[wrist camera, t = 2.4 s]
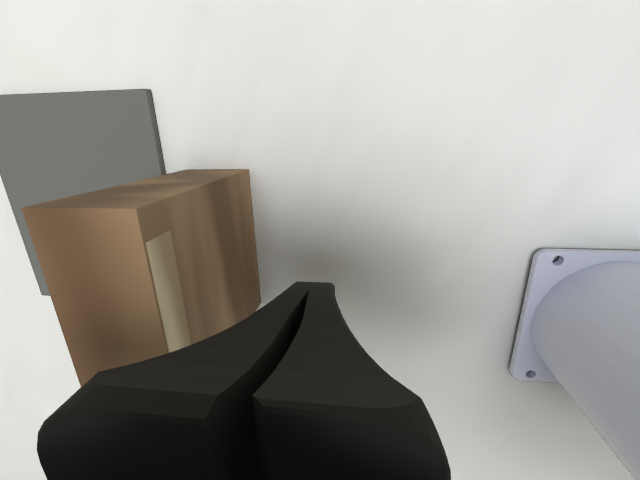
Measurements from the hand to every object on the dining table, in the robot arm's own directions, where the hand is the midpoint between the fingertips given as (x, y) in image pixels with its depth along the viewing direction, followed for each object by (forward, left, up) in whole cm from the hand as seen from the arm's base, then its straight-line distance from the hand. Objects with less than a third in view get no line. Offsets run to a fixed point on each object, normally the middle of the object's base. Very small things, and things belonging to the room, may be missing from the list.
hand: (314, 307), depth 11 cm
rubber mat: (+14, -2, -7) cm, 16 cm away
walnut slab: (+6, 0, -7) cm, 9 cm away
